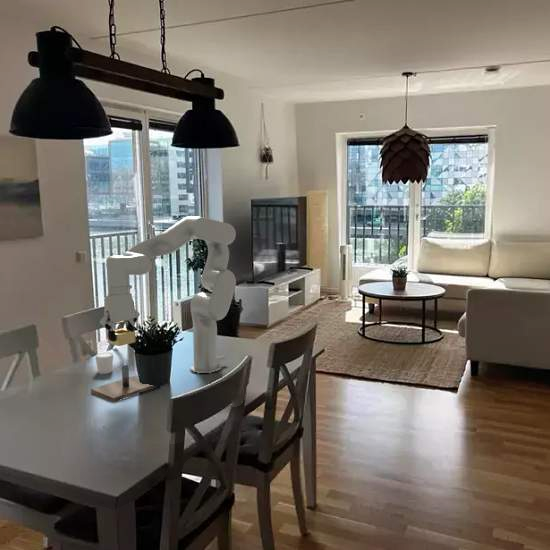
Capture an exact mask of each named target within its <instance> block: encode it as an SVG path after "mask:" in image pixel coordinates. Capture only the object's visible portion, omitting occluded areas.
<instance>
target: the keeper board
mask: <svg viewBox="0 0 550 550" xmlns="http://www.w3.org/2000/svg"><path fill="white" fill-rule="evenodd" d="M137 375H138V374H136V375H135V374H134V375H133V376H129V386H128V387H123V384H122V379H119V380H116V381H113V382H110V383H109V382H108V383H106V384H103V385H99V386H95V387H92V388H91V389H90V393H91V394H93V393H94V395H95V394H96V395H95V396H98V397H100V396H101V398H103V399H105V398H106V399H105V400H107V399H108V401H110V400H111V401H110V402H112V401H113V402H112V403H115V401H116V402H118V400H119V401H121V400H120V399H122V400H124V399H123V398H125V399H127V398H126V397H128V398H130V397H129V396H131V397H133V396H132V395H134V394H137V393H140V392H142V391H145V390H148V389H150V388H152V387H153V386H154V385H149V384H142V383H140V382H139V379H138V376H137ZM140 394H141V393H140ZM137 395H138V394H137ZM134 396H135V395H134Z"/></svg>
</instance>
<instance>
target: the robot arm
mask: <svg viewBox="0 0 550 550" xmlns="http://www.w3.org/2000/svg"><path fill="white" fill-rule="evenodd" d="M236 235H237V233H236V229H235V227H234V226H233V225H232V224H231V223H227V222H224V221H219V220H216V219H212V218H208V217H206V216H205V217H204V216H197V215H196V216H195V215H187V216H186V217H183V218H181V219H180V220H178V221H176V223H174V224H173V225H171V226H169V228H167V229H165V230H164V231H163V232H161V233H159V234H156V235H154V236H152V237H150V238H148V239H146V240H143V241H141V242H139V243H137V244H136V245H134V246H132V247H131V248H130V249H128V250H127V251H125V252H124V253H123V254H122V255H121V254H120V255H111V256H108V257H107V258H106V261H105V263H106V280H107V282H106V283H107V294H105V298H104V309H103V311H104V313H103V314H104V315H103V317H102V318H100V320H99V323H100V324H101V325H102V326H103V327H104V328H105V329H106V330H107V332H108V338H109V340H110V341H113V342H114V341H115V331H114V330H115V327H116V324H117V323H122V322H123V323H124V322H126V323H127V325H126V329H128V330H132V331H135V329H134V327H135V326H136V322H137V321H138V318H140V317H139V316H140V315H141V312H138V311H137V310H136V309H135V306H134V304H135V303H134V299H133V295H132V293H131V290H132V288H133V286H132V284H130V276H143V275H146V274H148V273H149V272H150V271H151V270H152V267H153V263H152V260H151V259H154V258H156V257H159V256H166V255H169V254H173V253H175V252H176V251H178V250H179V249H180V248H182V247H183V246H185V245H186V244H188V243H189V242H191V241H192V240H194V239H196V240H203V241H204V242H205V244H206V246H207V259H206V262H205V265H204V269H203V272H202V275H201V279H200V282H201V283H200V284H201V286H202V287H203V288H204V289H205V290H209V291H211V293H209V292H197V293H196V294H194V295H193V297H191V300H190V304H189V307H190V312H191V313H190V314H191V318H192V334H193V335H192V336H193V340H192V342H193V343H192V344H193V364H191V365H190V366H189V370H190V371H191V372H192V371H193V372H192V373H194V372H197V373H196V374H199V373H209V374H213V373H212V372H215V371H218V370H220V369H221V370H222V365H221V364H220V363H221V362H224V361H225V360H226V356H225V355H221V356H218V327H217V321H221V320H223V319H224V318H225V317H227V314H228V312H229V309H230V307H231V304H232V301H233V297H234V293H235V290H236V285H237V280H236V276H235V274H234V273H233V272H232V271H231V270H229V269H227V268H228V263H229V259H230V251H229V247H228V245H231V244H232V243H234V241H235V239H236ZM108 338H107V339H108ZM221 370H220V371H221ZM218 372H219V371H218ZM215 373H216V372H215Z"/></svg>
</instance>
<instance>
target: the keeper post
mask: <svg viewBox="0 0 550 550" xmlns="http://www.w3.org/2000/svg"><path fill="white" fill-rule="evenodd" d="M129 370H130V369H129V365H128V364H126V363H124V364H123V365H122V366H121V380H122V384H123V387H128V386H129V377H130V371H129Z"/></svg>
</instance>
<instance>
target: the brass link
mask: <svg viewBox="0 0 550 550" xmlns="http://www.w3.org/2000/svg"><path fill="white" fill-rule="evenodd" d="M113 330H114V331H115V341H114V342H113V341H110V340H109V338H108V331H107V333H106V335H107V344H111V345H114V346H116V347H121V346H126V345H129V344H133V343H136V331H135V330H134V331H132V330H128V329H127V328H124V327H123V328H119V329H113Z"/></svg>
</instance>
